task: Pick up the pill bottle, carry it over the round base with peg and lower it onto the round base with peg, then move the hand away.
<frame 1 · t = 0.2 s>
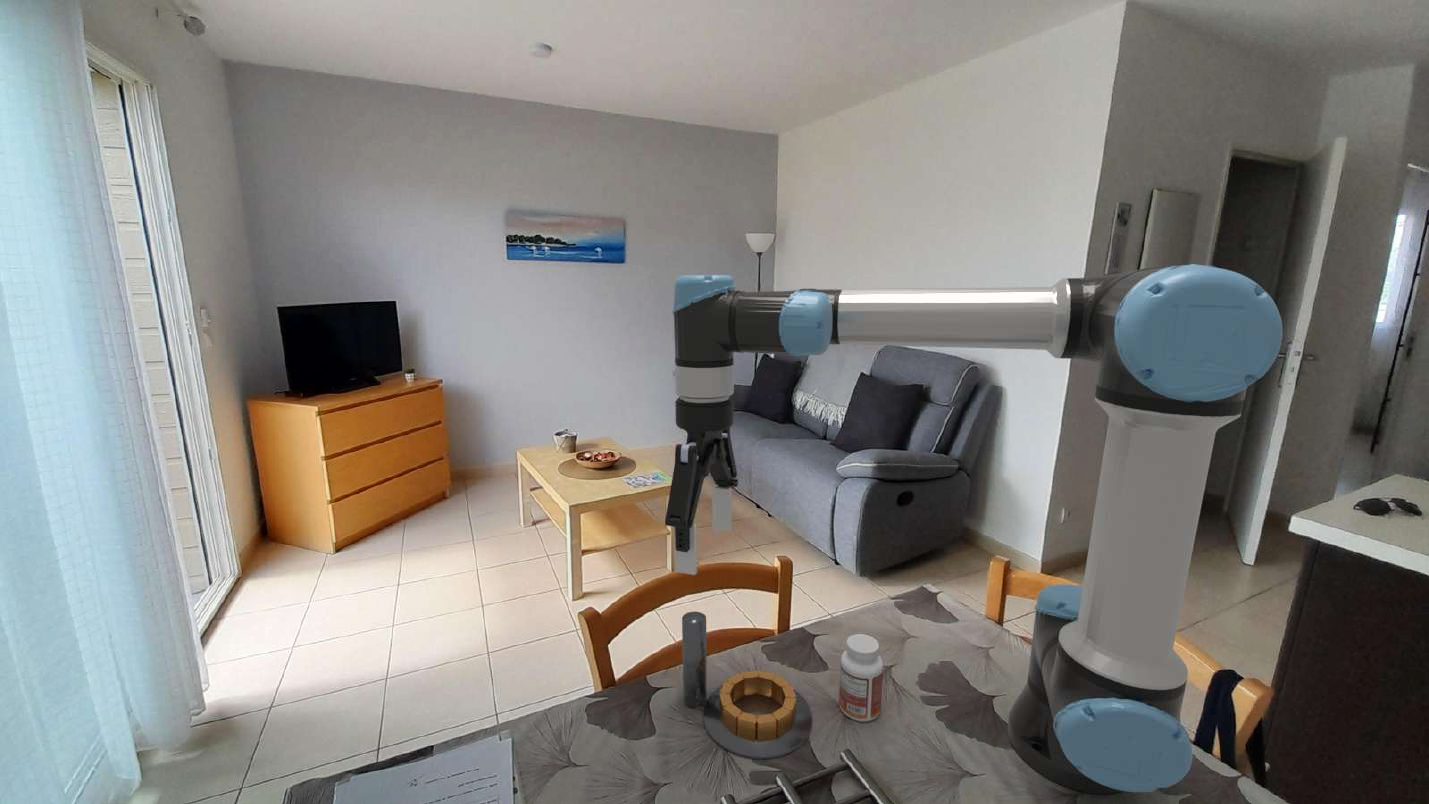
hand: (705, 549, 81), 27 cm above the table, fingers open, 13 cm apart
pill bottle: (859, 709, 90), on the table
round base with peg: (757, 716, 88), on the table
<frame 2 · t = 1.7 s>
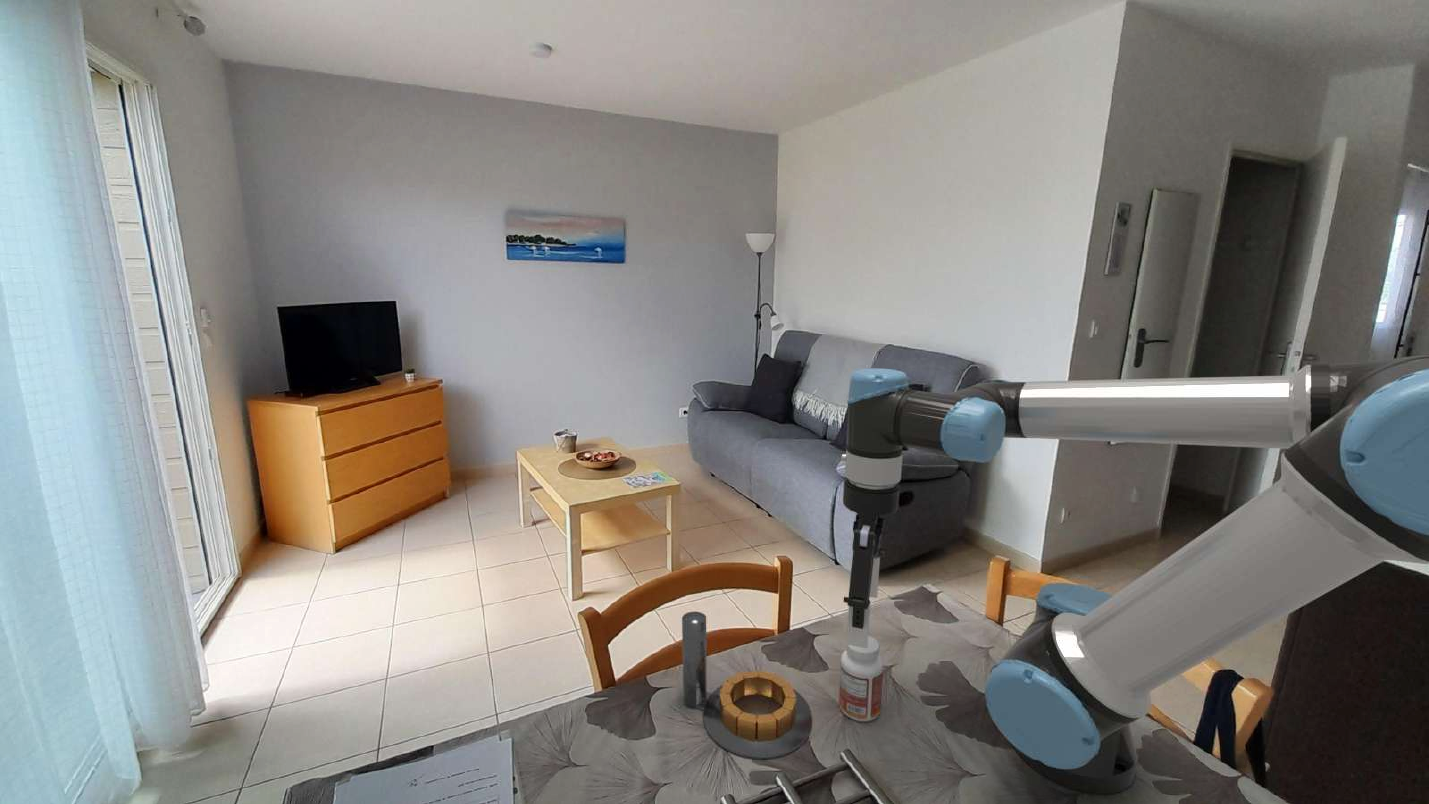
hand: (863, 618, 87), 15 cm above the table, fingers open, 13 cm apart
nothing on the table moved.
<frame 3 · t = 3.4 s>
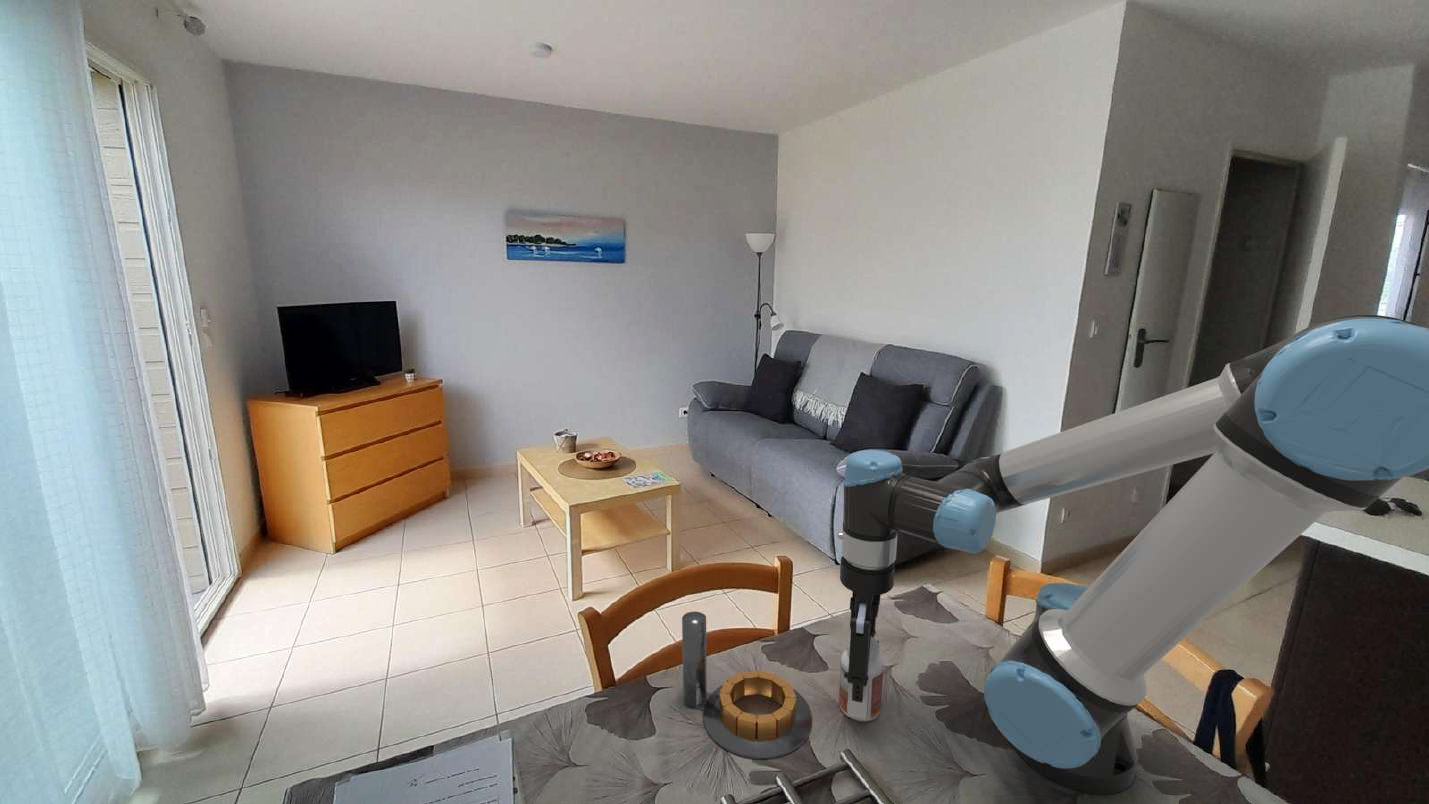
hand: (859, 700, 89), 1 cm above the table, fingers closed on pill bottle, 6 cm apart
pill bottle: (859, 709, 90), on the table, touching gripper
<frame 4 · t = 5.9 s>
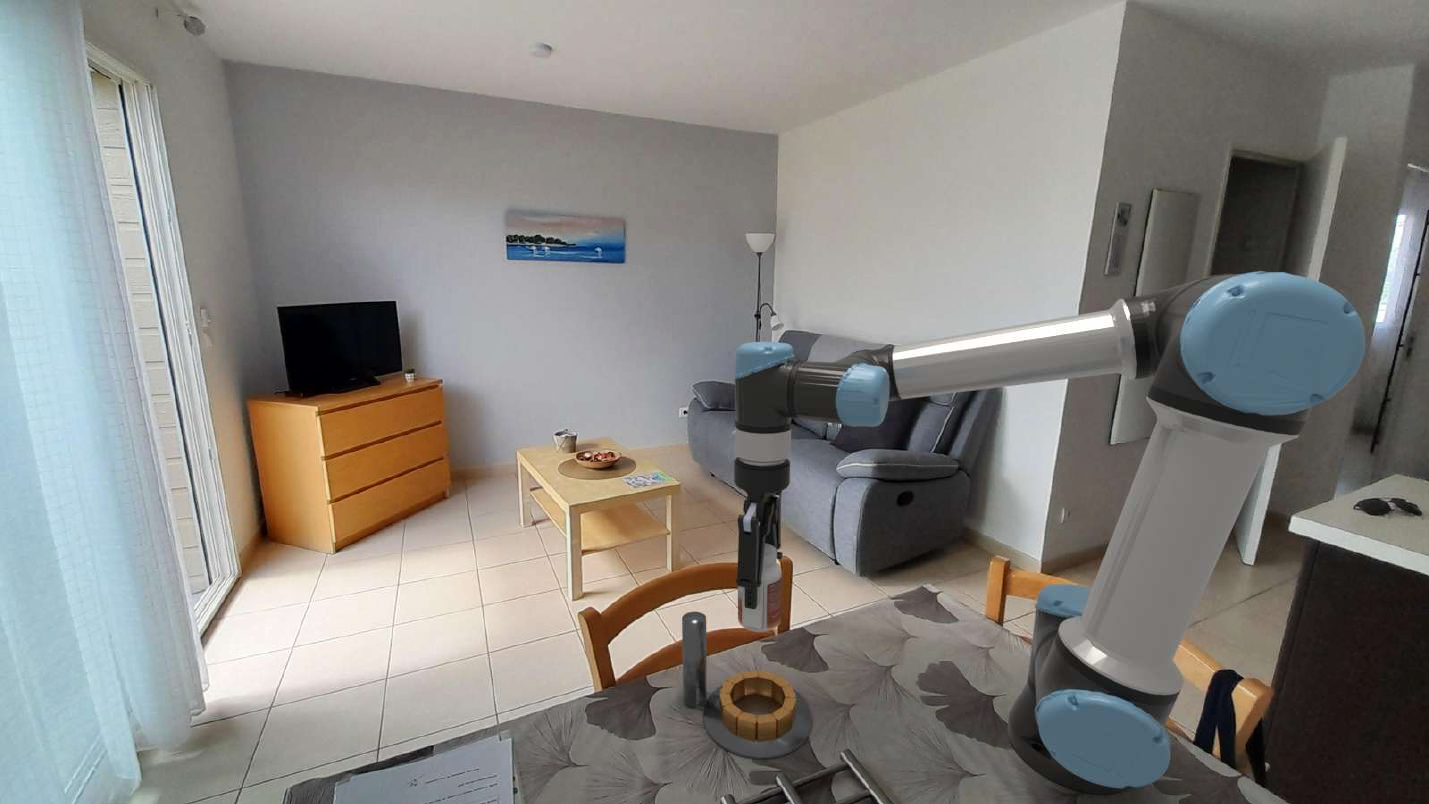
hand: (759, 612, 84), 17 cm above the table, fingers closed on pill bottle, 6 cm apart
pill bottle: (759, 622, 85), point 15 cm above the table, touching gripper
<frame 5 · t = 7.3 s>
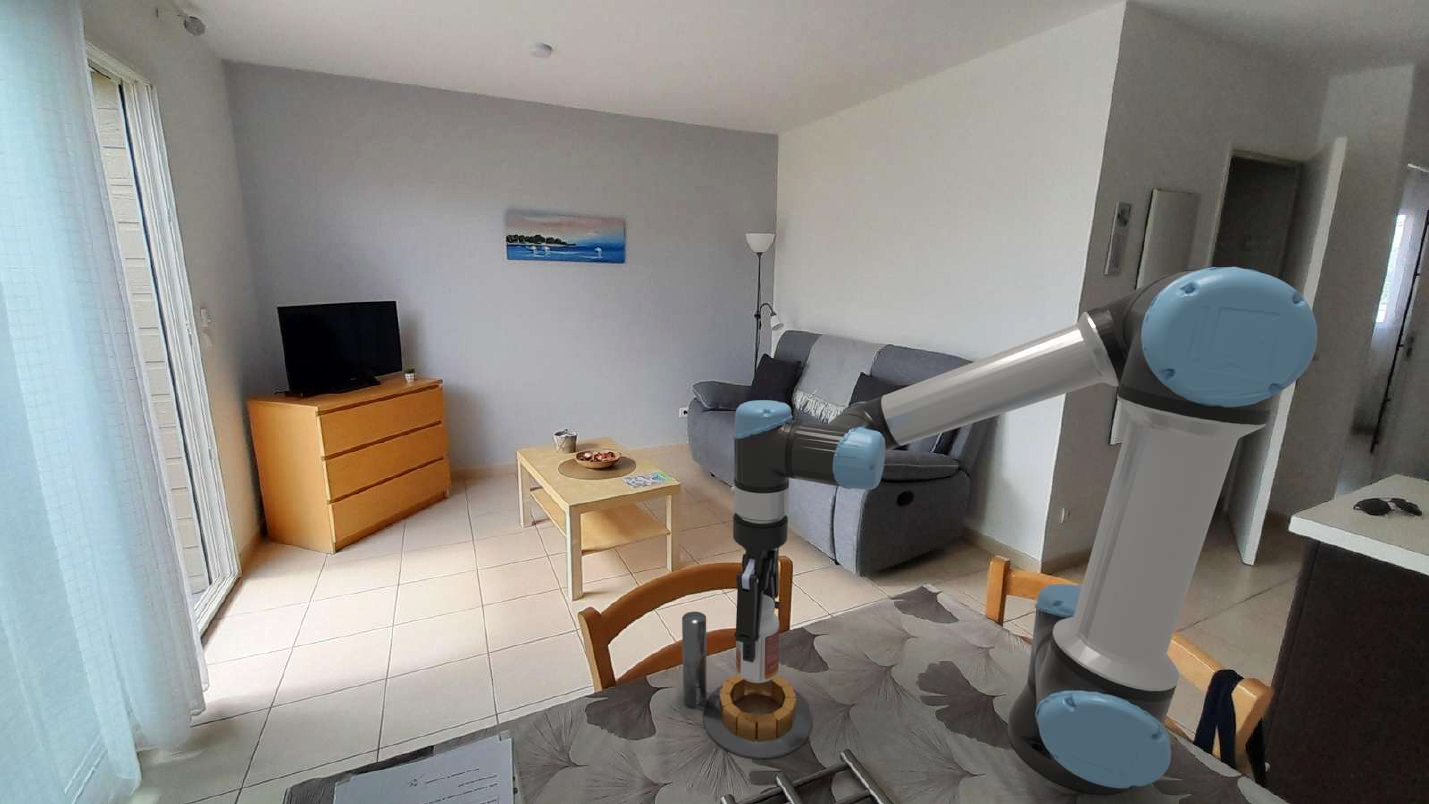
hand: (757, 662, 86), 9 cm above the table, fingers closed on pill bottle, 6 cm apart
pill bottle: (756, 672, 86), point 7 cm above the table, touching gripper
when the fingers open (5 cm above the table, at t = 8.4 s): pill bottle drops 3 cm, resting on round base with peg.
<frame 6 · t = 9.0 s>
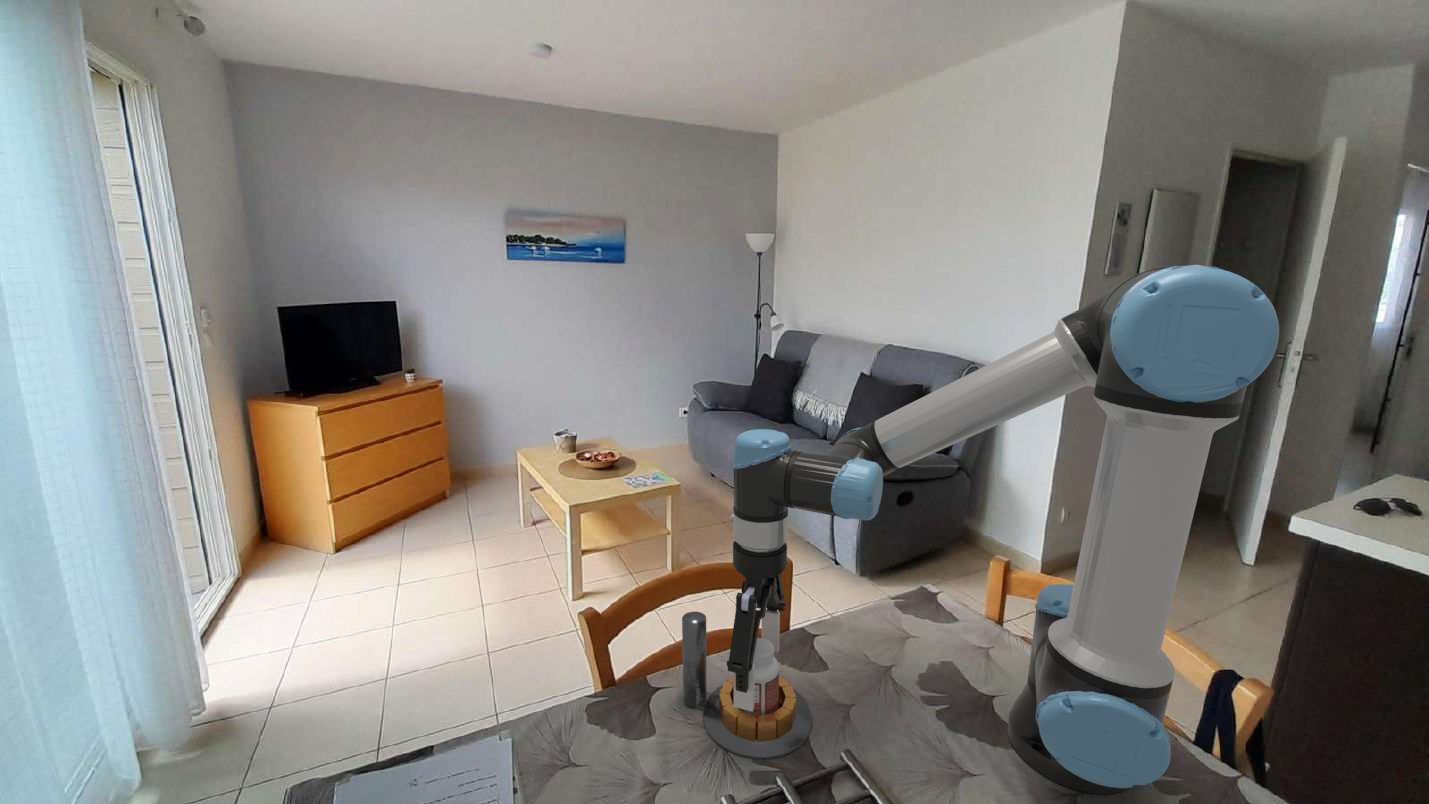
hand: (757, 676, 86), 7 cm above the table, fingers open, 13 cm apart
pill bottle: (757, 715, 88), resting on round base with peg
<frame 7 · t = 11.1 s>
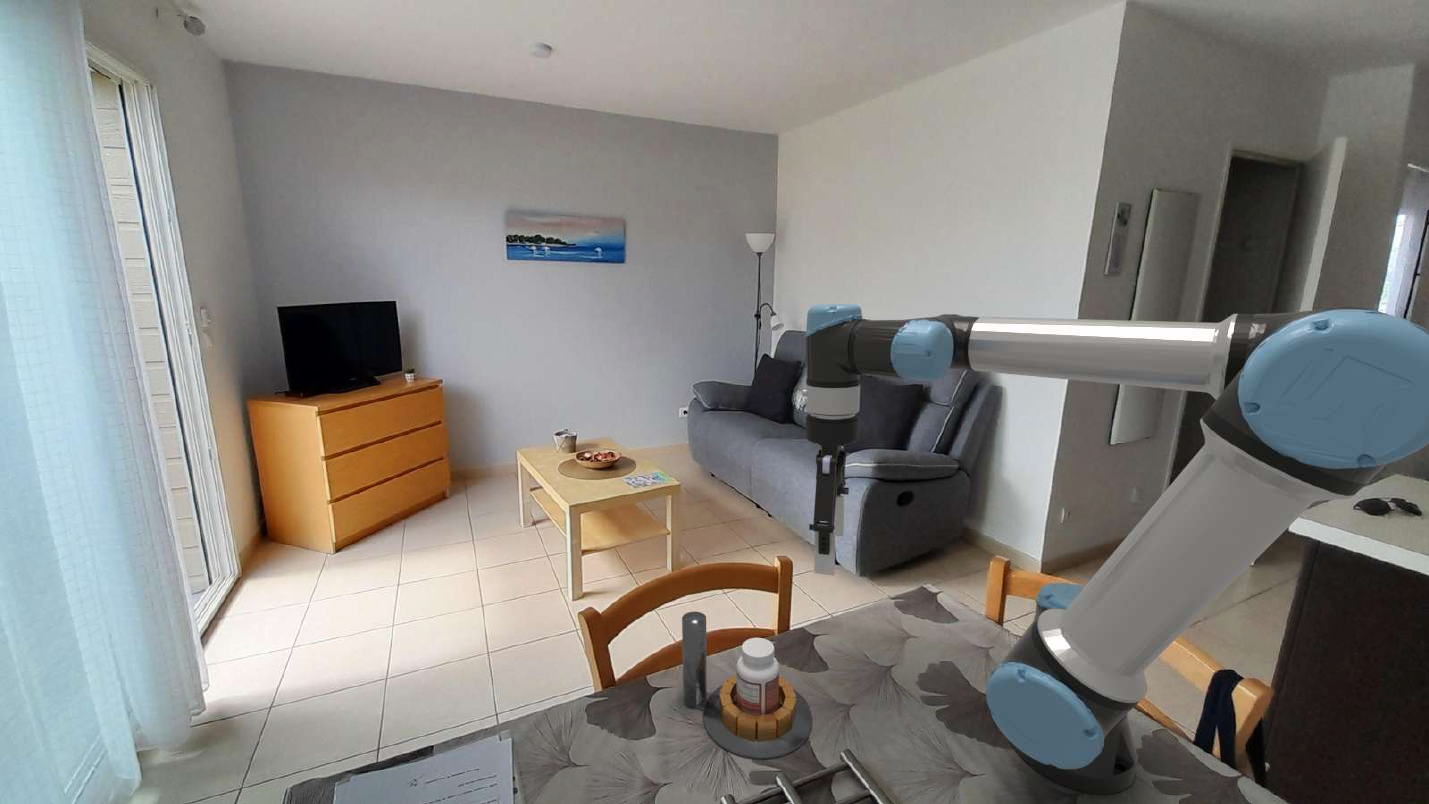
hand: (829, 552, 89), 23 cm above the table, fingers open, 13 cm apart
nothing on the table moved.
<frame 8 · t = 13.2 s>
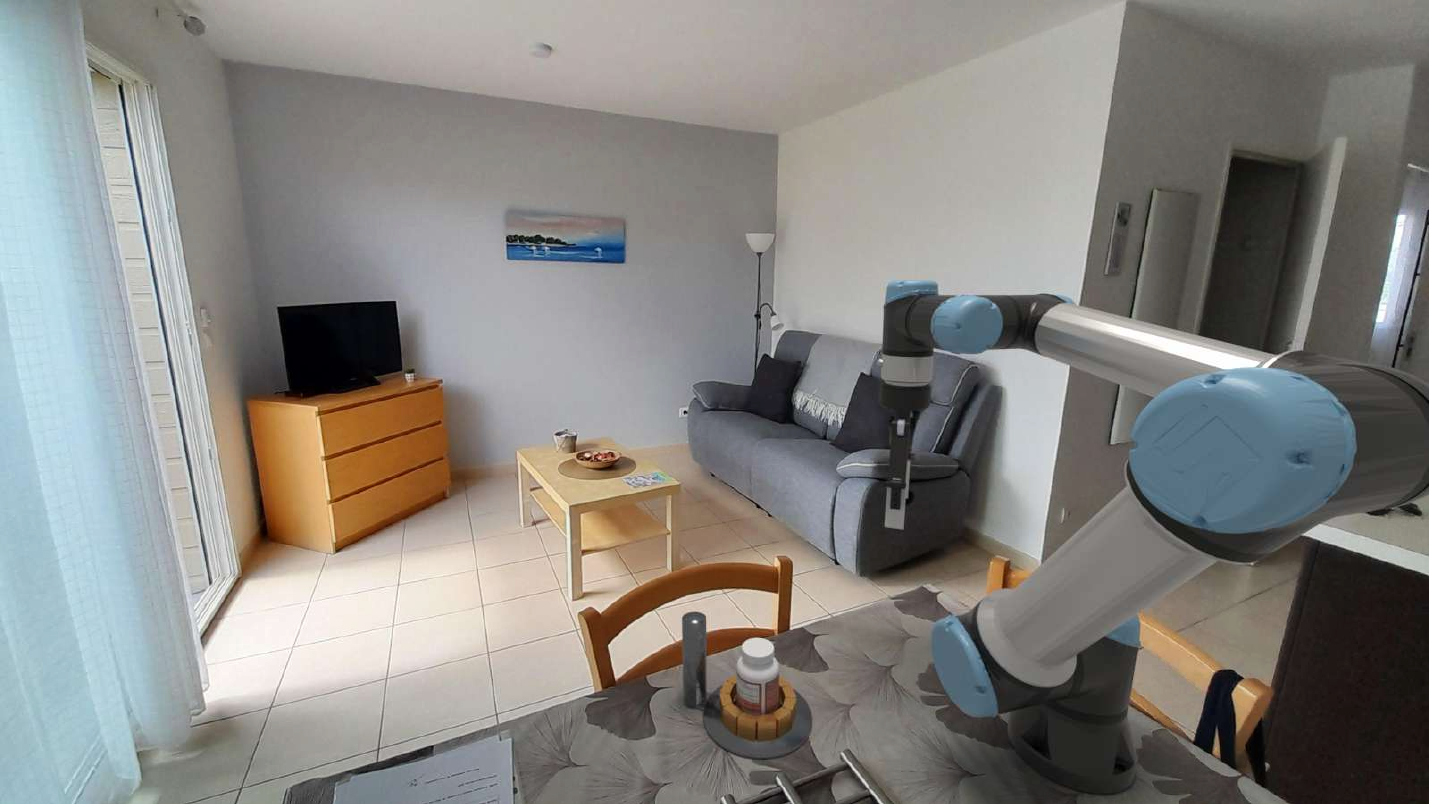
hand: (897, 511, 96), 27 cm above the table, fingers open, 13 cm apart
nothing on the table moved.
at the end: pill bottle 0.2 cm from the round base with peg (horizontally); pill bottle resting on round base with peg; pill bottle tilted 0° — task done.
